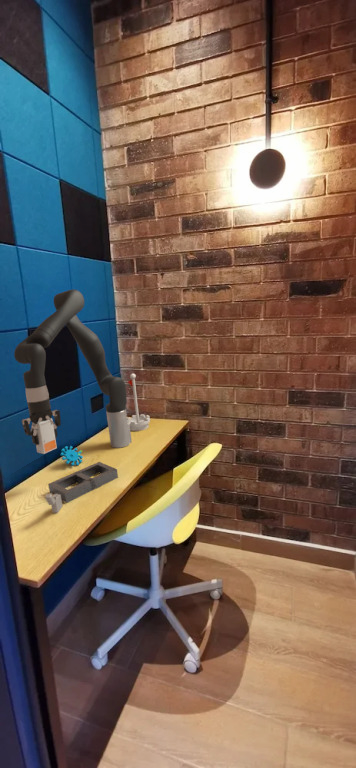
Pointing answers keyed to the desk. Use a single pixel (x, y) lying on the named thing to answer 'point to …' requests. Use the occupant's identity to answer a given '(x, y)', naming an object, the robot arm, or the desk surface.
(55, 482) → the cinder block
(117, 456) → the desk surface
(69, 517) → the desk surface
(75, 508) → the desk surface
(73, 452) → the blue virus model
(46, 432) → the skincare box
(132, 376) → the flag stand
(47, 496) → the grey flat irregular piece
